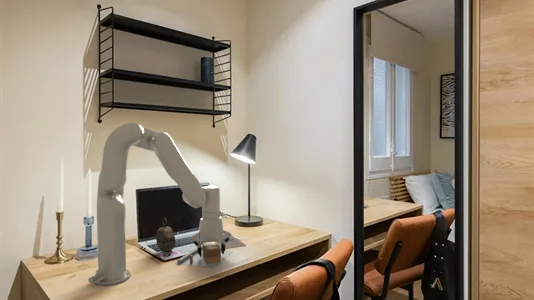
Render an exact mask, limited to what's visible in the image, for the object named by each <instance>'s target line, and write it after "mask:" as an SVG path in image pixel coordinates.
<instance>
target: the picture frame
mask: <svg viewBox="0 0 534 300" xmlns="http://www.w3.org/2000/svg"><path fill="white" fill-rule="evenodd" d="M223 235H224V237H223V239H225V238H226V237H227V235H226V234H223ZM216 242H217V244H218V245H219V247H220V249H221V243H222V242H221V241H216ZM244 246H246V244H245V243H244V242H242V241H241V240H239V239H238V238H236V237H235V236H234V235H232V234H231V237H230V238H229V241H228V242H227V243H226V245H225V250H227V249H231V248H239V247H244Z"/></svg>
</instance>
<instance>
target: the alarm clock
mask: <svg viewBox="0 0 534 300" xmlns="http://www.w3.org/2000/svg"><path fill="white" fill-rule="evenodd" d="M164 220H165V223H164V222H162V223H163V227H159V228H158V229H157V231H156V233H155V234H156V235H155V241H156V244H157V247H158V249H159V250H160V252H161V251H162V252H163V251H166V252H170V251H172V250H174V249H175V247H176V236H175V235H176V234H175V232H174V230H173V229H172V227H170V226H168V225H167V224H168V221H167V218H166V217H165V218H164V217H163V219H162V221H164ZM166 225H167V226H166Z"/></svg>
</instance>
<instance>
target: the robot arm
mask: <svg viewBox="0 0 534 300" xmlns="http://www.w3.org/2000/svg"><path fill="white" fill-rule="evenodd" d="M132 146H134V147H137V148H141V149H143V150H148V151H150V152H153V153H154V154H155V156H156V158H157V159H158V160H159V162H160V164H161V165H162V167H163V169H164V171H165V172H166V174H167V175H168V176H169V177H170V179H171V180H173V181H174V183H176V184H177V186H178V187H179V189H180V190H181V192H182V196H181V198H182V200H183V201H184V202H185V203H186V204H187V205H189V206H190V207H192V208H195V209H198V208H201V218H200V219H199V225H198V232H197V233H195V234H193V235H191V236H190V240H191V241H192V243H193V245H195V246H196V248H197V247H198V254H199V256H200V257H201V256H202V248H201V246H202V244H203V243H207V242H216V241H221V242H222V243H221V252H222V254H224V251H226V249H225V245H226V243H227V242H228V241H229V238H230V237H231V235H232V233H231V232H229V231H227V230H224V227H223V226H224V225H223V219H222V215H224V211H221V208H220V207H221V204H220V203H221V201H220V200H221V195H220V187H219V186H216V185H206V186H202V185H201V183H200V181H199V180H198V178H197V177H196V174H194V173H193V171H192V169H191V168H190V166H189V165H188V164H187V162H186V161H185V159H184V157H183V156H182V154H181V152H180V150H179V148H178V146H177V145H176V143H175V142H174V140H173V139H172V137H171V136H170V135H169V134H168V133H167V132H164V131H155V130H152V129H150V128H145V127H143V126H142V125H140V123H138V122H131V121H130V122H127V123H124V124H122V125H120V126H118V127H116V128H114V129H113V130H112V132H111V133H110V134H109V135H108V136H107V138H106V140H105V143H104V146H103V151H102V152H103V153H102V160H101V169H100V172H99V174H98V181H97V182H98V185H97V194H96V195H97V197H96V198H97V199H96V224H97V226H96V227H97V234H96V237H97V267H98V268H97V269H96V270H95V274H94V275H92V276H90V277H89V278H88V279H87V281H88V283H89V284H92V283H94V284H96V285H100V286H110V285H111V286H112V285H115V284H116V285H117V284H120V283H123V282H125V281H126V280H128V279H129V278H130V277H131V271H130V270H128V269H127V261H126V260H127V258H126V257H127V252H126V248H127V247H126V213H127V211H126V205H125V204H126V203H125V201H124V190H125V185H126V183H127V167H128V158H129V157H128V156H129V151H130V149H131V147H132ZM223 234H226V235H227V237H226V238H225V239H223V237H224V235H223ZM197 238H198V239H200V240H198V241H197V240H196V239H197Z"/></svg>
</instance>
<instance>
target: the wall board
mask: <svg viewBox="0 0 534 300" xmlns="http://www.w3.org/2000/svg"><path fill="white" fill-rule="evenodd" d="M201 248H202V245H201ZM232 253H233V251H227V250H225V251H224V254H222V252H221V262H218V263H209V264H206V261H205V259H204V257H203V249H202V256H201V257H200V256H199V254H198V247H197V246H196V247H195V248H194V249H192V250H191V251H189V252H187V253H186V254H185V255H183V256H181V257H180V258H178V259H177V260H176V262H174V264H175V265H184V266H191V267H200V268H209V269H215V268H217V267H218V266H219V265H220V264H221V263H223V261H224V260H226V259H227V258H228V257H229V256H230V255H232Z"/></svg>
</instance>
